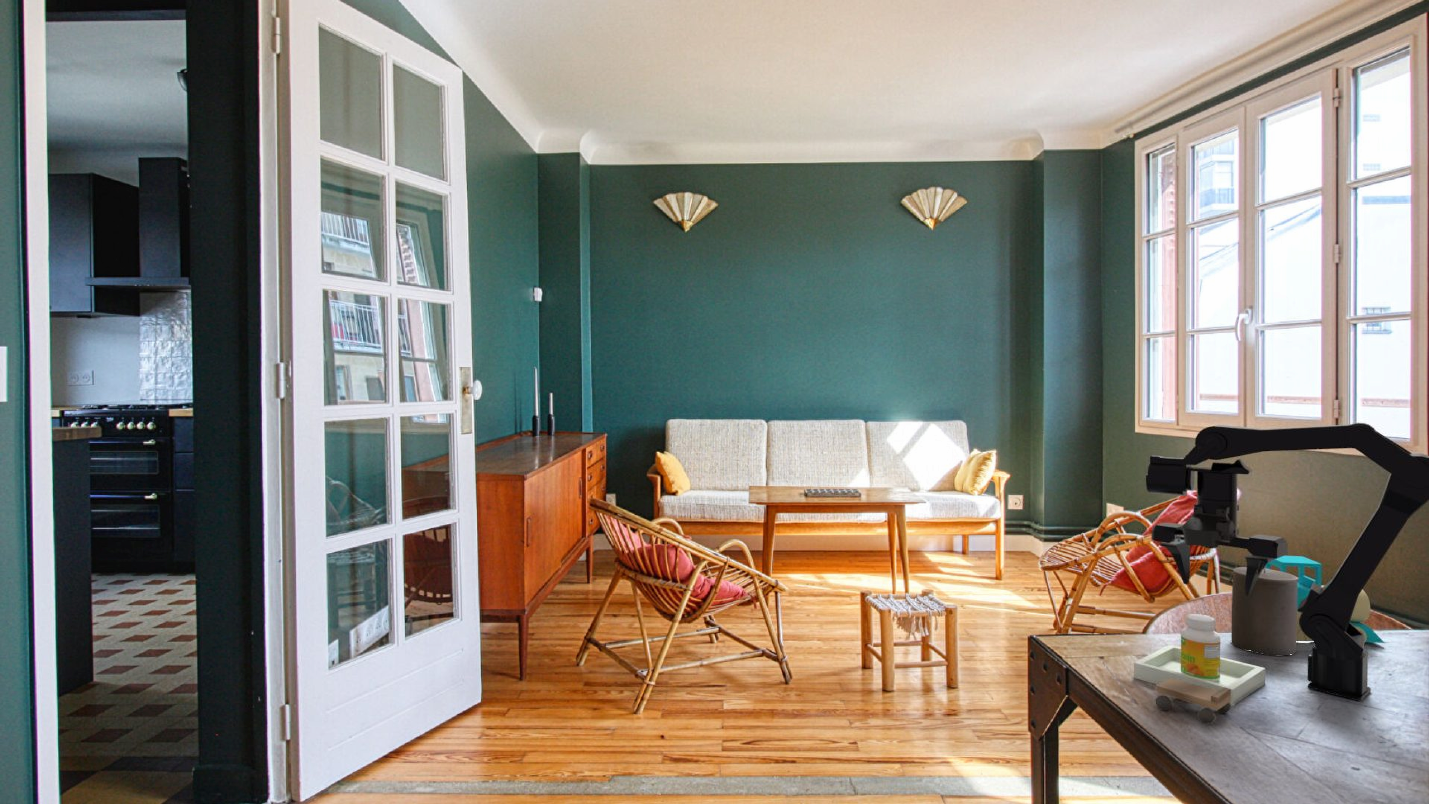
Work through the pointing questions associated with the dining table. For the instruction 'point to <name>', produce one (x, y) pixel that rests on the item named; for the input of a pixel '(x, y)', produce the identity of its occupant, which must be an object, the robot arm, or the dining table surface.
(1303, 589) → the toy train
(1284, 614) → the pillar candle
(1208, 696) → the cart
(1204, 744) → the dining table surface
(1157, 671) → the tray
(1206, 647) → the supplement bottle
